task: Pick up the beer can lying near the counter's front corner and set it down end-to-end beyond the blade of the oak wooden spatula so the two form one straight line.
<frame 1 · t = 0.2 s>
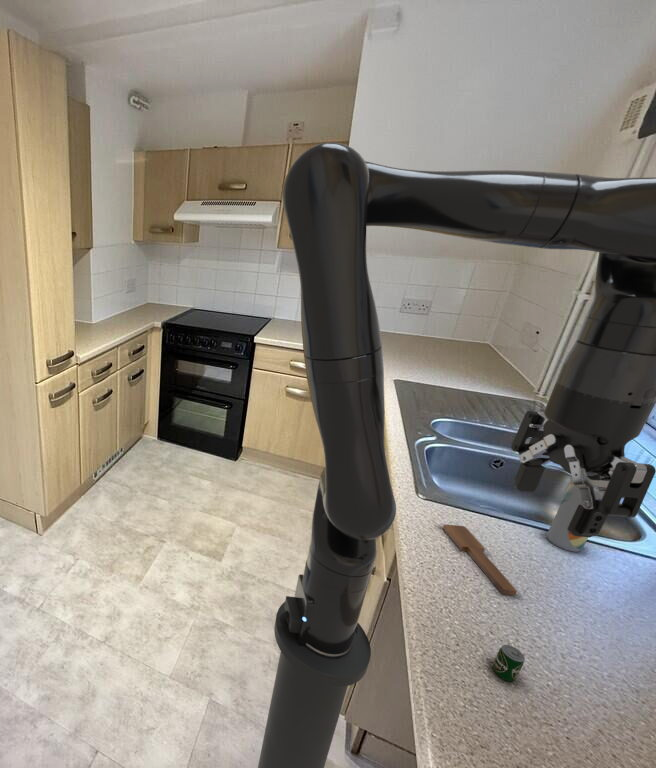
hand: (549, 510, 50), 31 cm above the counter, tool pointing down, fingers open, 8 cm apart
beer can: (503, 673, 63), on the counter
spatula: (477, 559, 85), on the counter
lotion bottle: (563, 543, 90), on the counter
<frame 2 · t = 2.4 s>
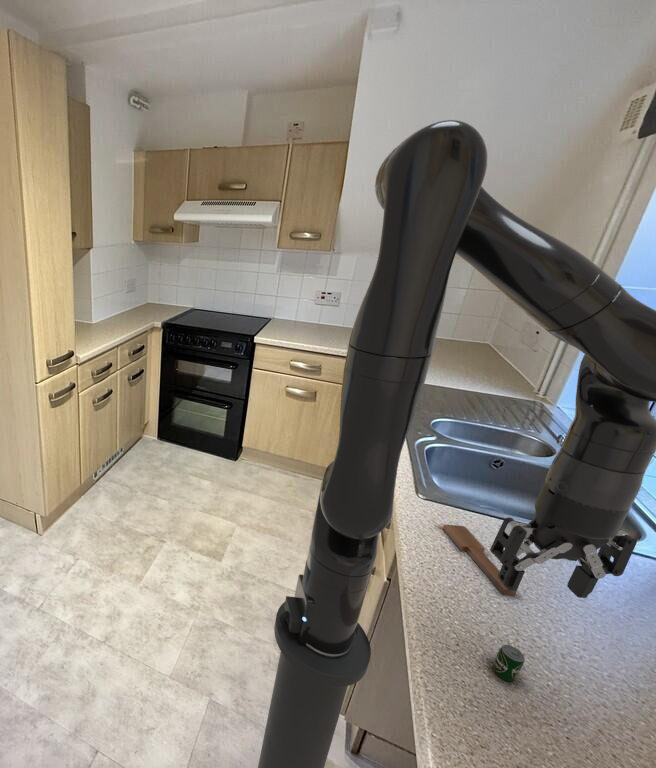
hand: (541, 589, 56), 17 cm above the counter, tool pointing down, fingers open, 8 cm apart
nothing on the counter moved.
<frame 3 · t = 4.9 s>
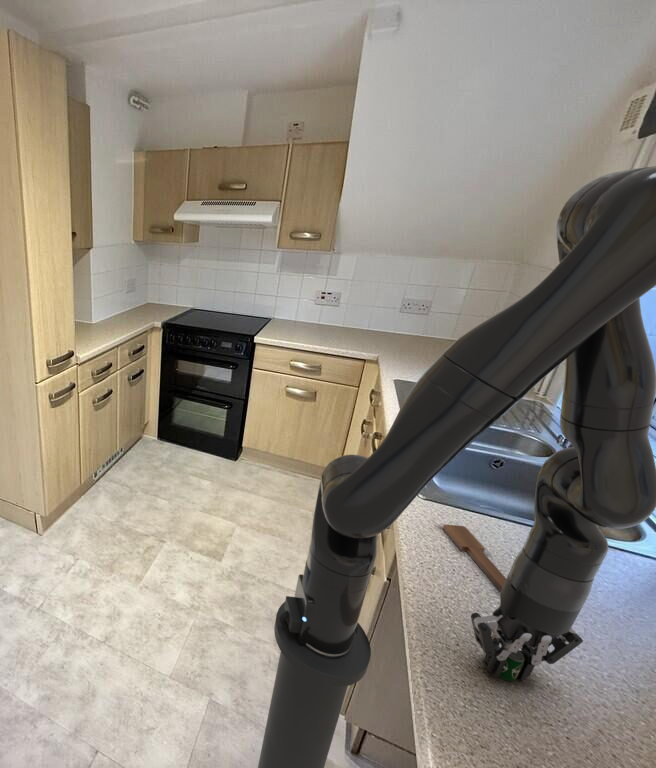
hand: (503, 672, 63), 0 cm above the counter, tool pointing down, fingers closed on beer can, 3 cm apart
beer can: (503, 673, 63), on the counter, touching gripper
everything else where it was.
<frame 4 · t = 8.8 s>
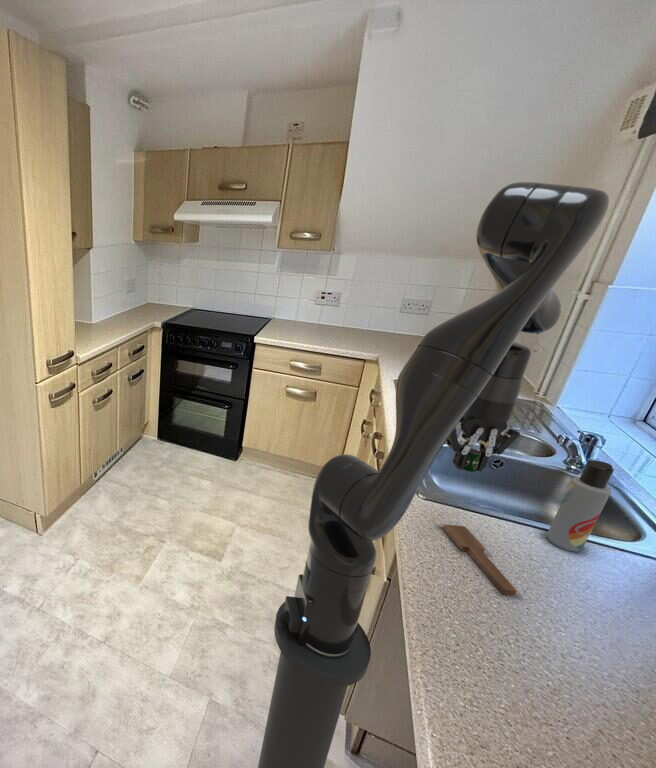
hand: (467, 468, 88), 16 cm above the counter, tool pointing down, fingers closed on beer can, 3 cm apart
beer can: (467, 469, 88), point 15 cm above the counter, touching gripper
everything else where it was.
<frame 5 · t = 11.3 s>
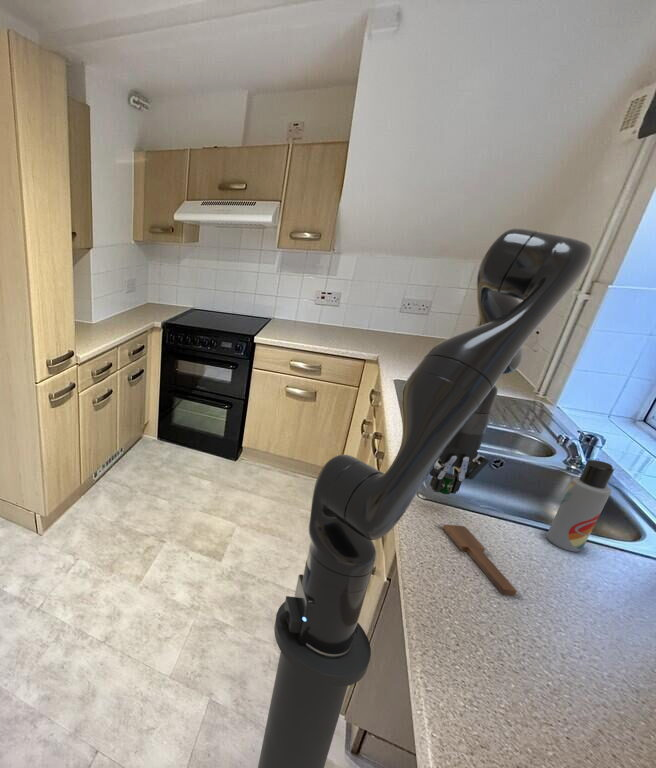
hand: (442, 490, 98), 6 cm above the counter, tool pointing down, fingers closed on beer can, 3 cm apart
beer can: (443, 492, 98), point 5 cm above the counter, touching gripper
everything else where it was.
when the fingers open (0 cm above the counter, at t = 12.8 s): beer can stays where it is, on the counter.
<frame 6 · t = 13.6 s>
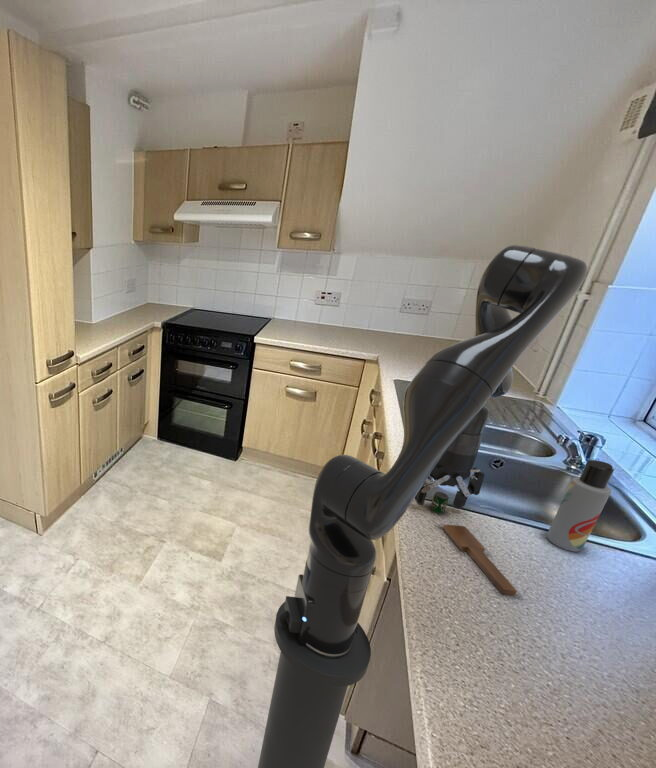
hand: (437, 505, 99), 1 cm above the counter, tool pointing down, fingers open, 8 cm apart
beer can: (436, 510, 100), on the counter
everything else where it was.
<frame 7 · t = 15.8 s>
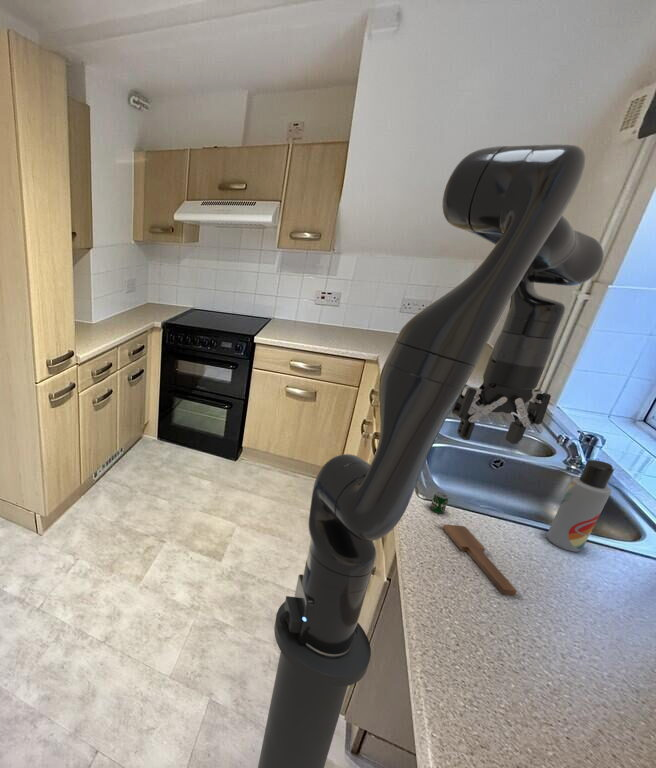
hand: (486, 440, 78), 26 cm above the counter, tool pointing down, fingers open, 8 cm apart
nothing on the counter moved.
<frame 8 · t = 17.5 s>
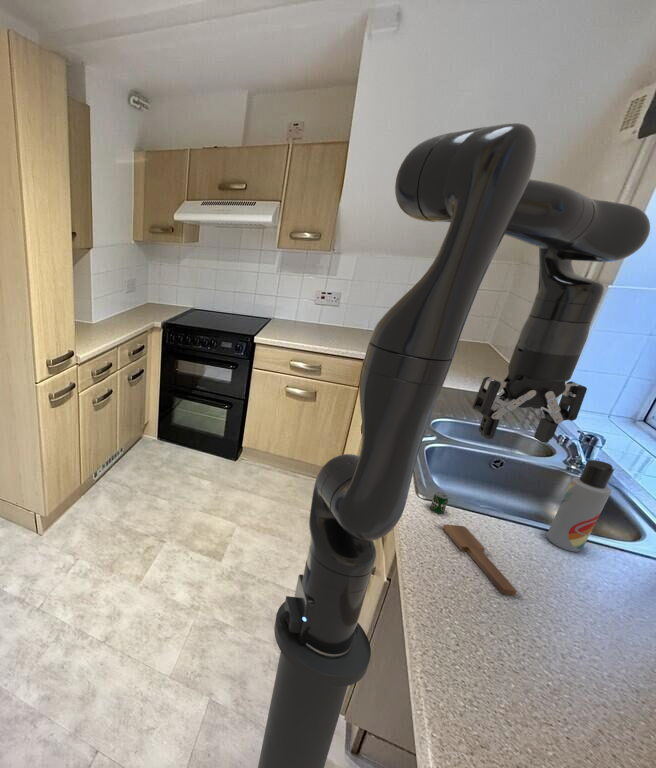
hand: (512, 438, 70), 30 cm above the counter, tool pointing down, fingers open, 8 cm apart
nothing on the counter moved.
at the end: beer can 0.4 cm from the target spot on the counter beside the spatula, on the counter; beer can tilted 0°; spatula moved 0.0 cm from its start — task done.
